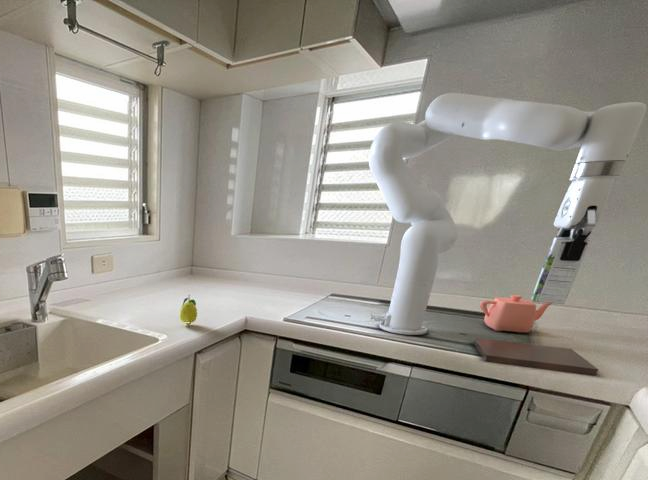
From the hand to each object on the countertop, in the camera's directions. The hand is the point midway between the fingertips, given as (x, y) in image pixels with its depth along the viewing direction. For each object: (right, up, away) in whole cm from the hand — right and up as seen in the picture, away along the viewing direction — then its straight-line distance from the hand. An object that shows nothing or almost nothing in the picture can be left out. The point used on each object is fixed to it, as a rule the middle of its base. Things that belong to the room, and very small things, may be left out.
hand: (563, 258), depth 93 cm
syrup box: (0, -9, +4) cm, 10 cm away
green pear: (-83, -11, +38) cm, 92 cm away
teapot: (+16, -13, +32) cm, 38 cm away
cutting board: (0, -23, +9) cm, 24 cm away
